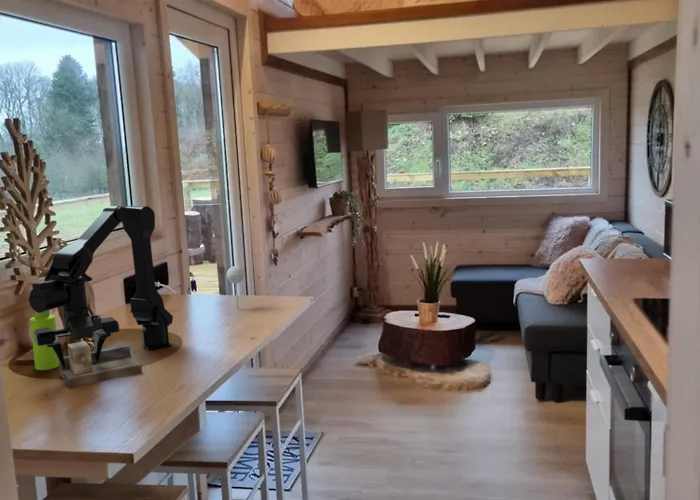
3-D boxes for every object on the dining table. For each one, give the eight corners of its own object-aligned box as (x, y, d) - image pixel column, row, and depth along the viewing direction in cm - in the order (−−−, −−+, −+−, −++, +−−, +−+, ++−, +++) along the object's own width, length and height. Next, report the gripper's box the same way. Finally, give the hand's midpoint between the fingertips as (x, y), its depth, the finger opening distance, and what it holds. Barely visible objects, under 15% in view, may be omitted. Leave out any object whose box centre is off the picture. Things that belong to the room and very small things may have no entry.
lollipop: (226, 308, 228) (224, 265, 225) (243, 306, 230) (241, 263, 228) (231, 312, 222) (228, 268, 220) (248, 310, 224) (246, 266, 222)
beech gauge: (86, 364, 168) (84, 341, 167) (95, 374, 160) (93, 350, 159) (70, 367, 165) (67, 344, 164) (77, 377, 158) (75, 353, 157)
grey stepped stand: (129, 361, 175) (128, 344, 175) (142, 372, 166) (140, 354, 165) (60, 375, 166) (58, 357, 165) (69, 388, 157) (67, 369, 156)
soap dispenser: (32, 372, 169) (23, 295, 165) (37, 364, 175) (29, 289, 172) (57, 369, 170) (49, 293, 167) (61, 361, 177) (53, 287, 173)
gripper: (37, 315, 150) (45, 382, 152) (122, 302, 160) (128, 365, 162) (30, 306, 159) (37, 369, 161) (110, 294, 169) (116, 353, 171)
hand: (80, 364), depth 164 cm, fingers open, 7 cm apart
